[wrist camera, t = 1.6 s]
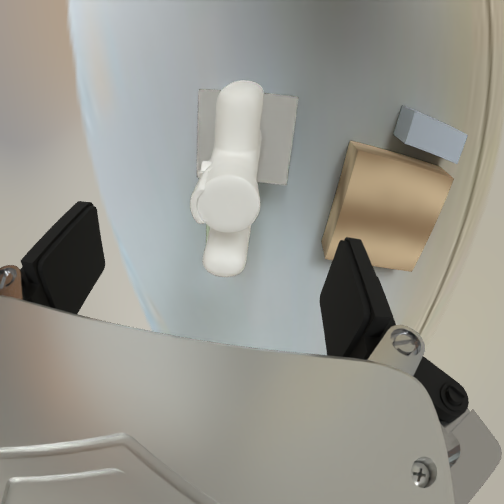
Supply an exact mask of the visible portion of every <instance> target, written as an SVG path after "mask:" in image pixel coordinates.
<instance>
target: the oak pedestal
mask: <svg viewBox="0 0 504 504" xmlns="http://www.w3.org/2000/svg"><path fill="white" fill-rule="evenodd" d="M453 180H454V179H453V178H452V177H451V176H450V175H449V174H448V173H447V172H445V171H444V170H443V169H442V168H441V167H439V166H437V165H434V164H431V163H428V162H425V161H422V160H419V159H415V158H412V157H409V156H406V155H402V154H399V153H396V152H392V151H389V150H385V149H381V148H378V147H374V146H370V145H366V144H363V143H359V142H354V141H350V142H349V146H348V150H347V154H346V157H345V161H344V165H343V169H342V172H341V176H340V180H339V183H338V187H337V190H336V194H335V197H334V201H333V204H332V208H331V211H330V215H329V218H328V221H327V225H326V228H325V231H324V234H323V238H322V241H321V242H322V247H323V251H324V256H325V259H329V260H333V258H334V255H335V253H336V250H337V247H338V244H339V242H340V240H344V239H345V238H346V237H350V238H356V239H361V240H362V242H363V245H364V247H365V249H366V252H367V254H368V257H369V259H370V261H371V264H372V266H377V267H383V268H390V269H397V270H404V271H411V272H412V270H413V268H414V266H415V265H416V263H417V261H418V259H419V257H420V255H421V253H422V251H423V249H424V247H425V245H426V242H427V240H428V238H429V236H430V234H431V232H432V230H433V227H434V225H435V223H436V221H437V219H438V216H439V214H440V212H441V209H442V207H443V205H444V202H445V200H446V197H447V195H448V192H449V190H450V187H451V185H452V182H453Z"/></svg>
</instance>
